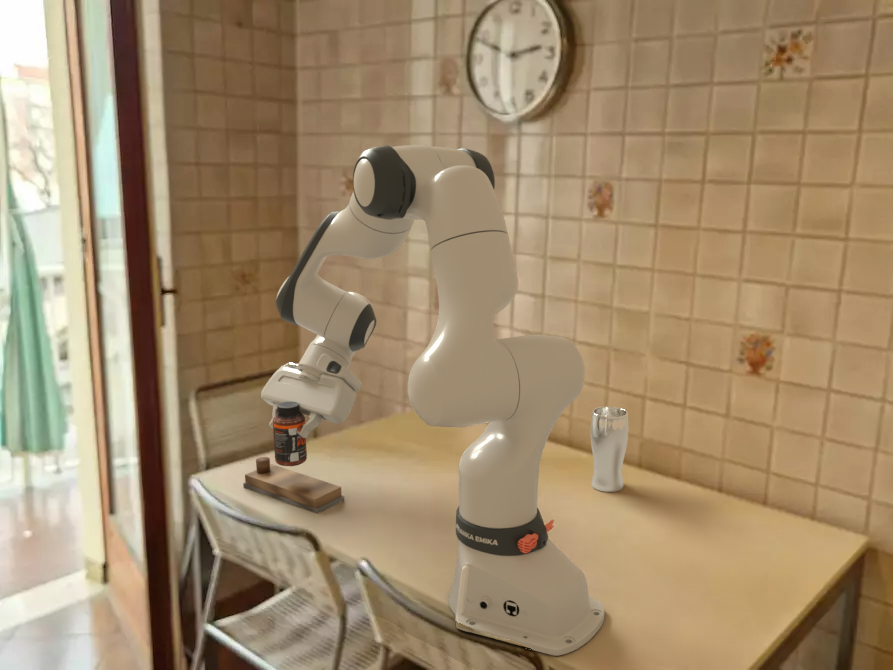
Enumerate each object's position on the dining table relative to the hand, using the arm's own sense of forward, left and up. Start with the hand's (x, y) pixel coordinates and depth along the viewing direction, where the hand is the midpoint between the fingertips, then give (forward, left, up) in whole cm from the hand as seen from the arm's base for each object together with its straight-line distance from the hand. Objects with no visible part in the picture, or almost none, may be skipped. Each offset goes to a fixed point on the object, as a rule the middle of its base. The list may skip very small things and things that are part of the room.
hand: (286, 432), depth 154 cm
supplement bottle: (0, -1, -6) cm, 6 cm away
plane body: (0, -1, -12) cm, 13 cm away
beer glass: (-47, -38, -13) cm, 62 cm away
